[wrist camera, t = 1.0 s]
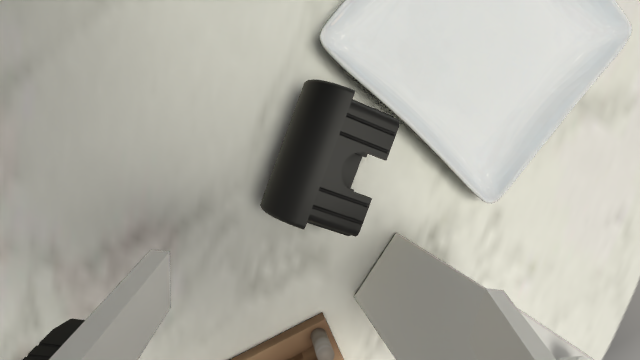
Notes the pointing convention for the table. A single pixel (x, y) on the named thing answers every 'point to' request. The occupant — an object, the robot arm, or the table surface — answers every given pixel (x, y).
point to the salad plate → (478, 72)
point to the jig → (298, 344)
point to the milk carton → (432, 307)
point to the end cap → (326, 159)
